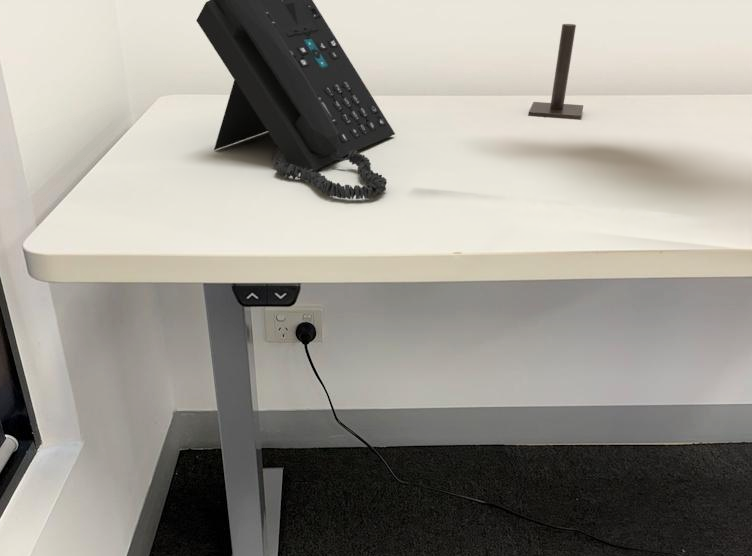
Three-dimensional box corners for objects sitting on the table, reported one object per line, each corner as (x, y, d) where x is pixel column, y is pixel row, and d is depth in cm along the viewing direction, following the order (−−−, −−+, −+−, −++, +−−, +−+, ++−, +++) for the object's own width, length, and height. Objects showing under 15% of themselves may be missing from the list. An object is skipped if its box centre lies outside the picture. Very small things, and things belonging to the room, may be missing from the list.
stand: (582, 111, 122) (597, 22, 115) (580, 122, 116) (595, 29, 109) (532, 108, 124) (544, 20, 117) (527, 118, 118) (539, 26, 111)
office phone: (364, 207, 81) (368, -5, 70) (163, 168, 93) (139, -19, 82) (468, 147, 102) (484, -22, 91) (294, 122, 114) (289, -31, 103)
